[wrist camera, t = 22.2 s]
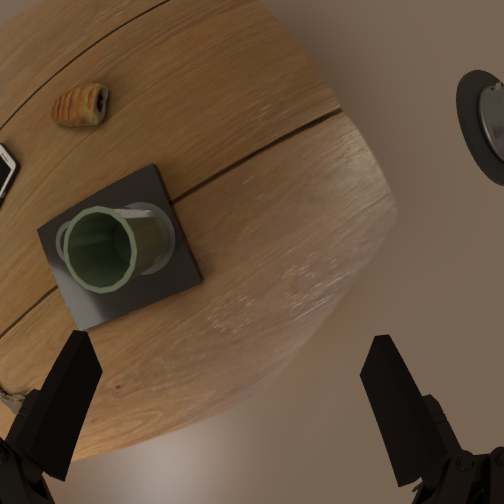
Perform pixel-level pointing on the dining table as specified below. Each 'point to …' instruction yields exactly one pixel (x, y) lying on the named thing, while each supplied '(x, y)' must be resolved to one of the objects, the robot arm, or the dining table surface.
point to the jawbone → (12, 401)
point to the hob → (143, 286)
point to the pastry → (81, 106)
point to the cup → (113, 246)
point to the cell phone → (6, 169)
